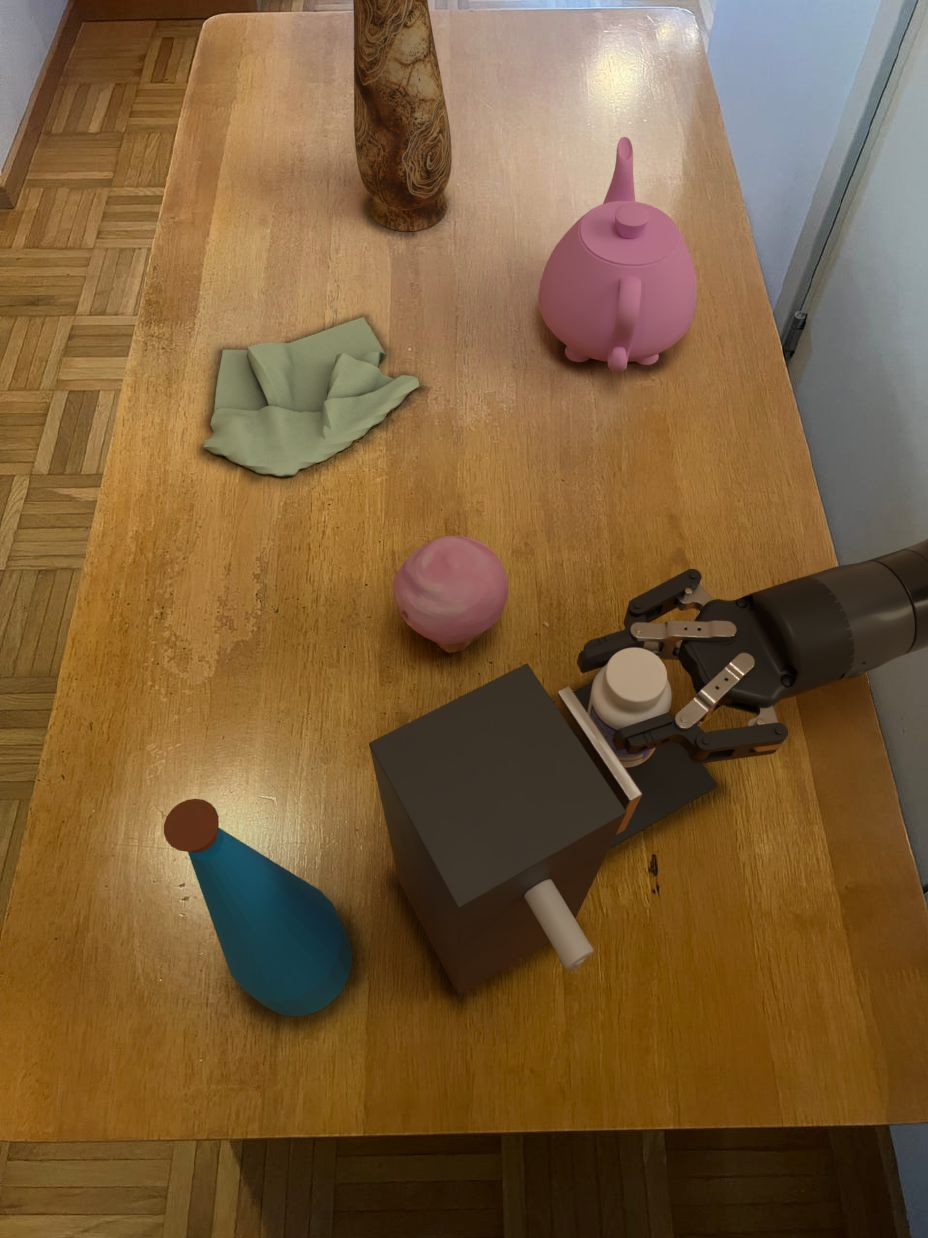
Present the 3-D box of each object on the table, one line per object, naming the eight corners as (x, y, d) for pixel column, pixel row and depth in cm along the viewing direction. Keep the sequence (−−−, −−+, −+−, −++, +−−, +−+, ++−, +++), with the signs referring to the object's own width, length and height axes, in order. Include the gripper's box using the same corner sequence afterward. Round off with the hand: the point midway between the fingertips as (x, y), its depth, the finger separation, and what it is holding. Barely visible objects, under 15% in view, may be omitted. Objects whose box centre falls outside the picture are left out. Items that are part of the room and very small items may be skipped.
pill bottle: (661, 769, 67) (685, 712, 58) (585, 770, 67) (599, 713, 59) (653, 700, 70) (675, 636, 61) (580, 701, 70) (592, 638, 61)
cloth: (183, 470, 86) (176, 453, 84) (238, 307, 97) (233, 288, 95) (400, 490, 85) (398, 473, 83) (431, 323, 96) (430, 305, 94)
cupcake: (456, 567, 81) (456, 497, 72) (526, 631, 78) (534, 566, 69) (378, 627, 78) (367, 561, 69) (447, 696, 75) (445, 636, 66)
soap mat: (716, 787, 71) (718, 785, 71) (584, 863, 68) (585, 861, 68) (627, 665, 76) (629, 662, 76) (501, 731, 73) (502, 728, 73)
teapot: (537, 249, 102) (547, 130, 90) (679, 255, 102) (708, 135, 90) (533, 398, 91) (545, 284, 79) (693, 405, 91) (728, 292, 79)
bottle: (328, 888, 67) (238, 716, 41) (370, 983, 64) (301, 863, 38) (232, 936, 66) (73, 790, 39) (270, 1037, 62) (124, 951, 36)
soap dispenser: (601, 984, 64) (679, 890, 42) (488, 1054, 62) (505, 995, 39) (505, 822, 70) (527, 662, 47) (398, 881, 67) (368, 742, 45)
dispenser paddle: (624, 830, 52) (643, 794, 47) (613, 837, 52) (630, 801, 47) (558, 729, 55) (568, 684, 50) (547, 735, 55) (556, 691, 50)
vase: (451, 236, 103) (448, -73, 77) (355, 236, 103) (320, -73, 77) (452, 178, 108) (449, -131, 82) (361, 177, 108) (329, -131, 82)
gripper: (788, 515, 64) (561, 584, 61) (903, 693, 57) (652, 779, 55) (759, 573, 71) (552, 638, 68) (858, 740, 64) (633, 819, 61)
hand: (598, 701), depth 61 cm, fingers closed on pill bottle, 5 cm apart
